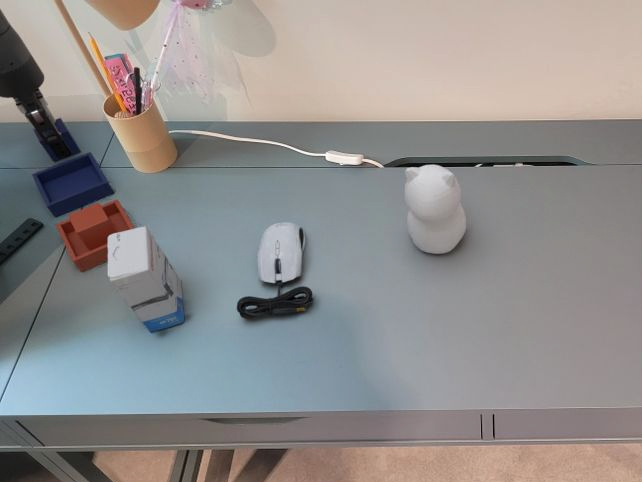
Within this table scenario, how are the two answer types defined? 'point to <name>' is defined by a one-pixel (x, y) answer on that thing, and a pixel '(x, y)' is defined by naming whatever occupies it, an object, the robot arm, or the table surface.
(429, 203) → the cat figurine
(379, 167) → the table surface
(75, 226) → the terracotta block
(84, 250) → the terracotta tray
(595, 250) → the table surface
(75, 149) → the navy block
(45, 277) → the table surface
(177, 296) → the ink box
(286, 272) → the computer mouse
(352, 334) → the table surface
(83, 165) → the navy tray
